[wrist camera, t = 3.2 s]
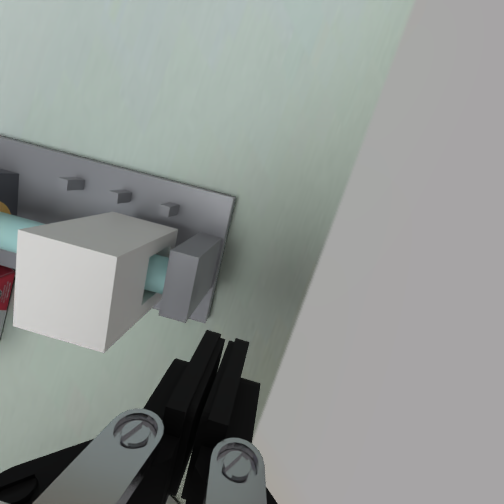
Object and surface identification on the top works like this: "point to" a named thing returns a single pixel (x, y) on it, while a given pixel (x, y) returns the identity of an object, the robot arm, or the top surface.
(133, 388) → the top surface
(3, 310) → the ink box
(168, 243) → the sleeve
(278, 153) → the top surface
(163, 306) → the motor shaft test rig
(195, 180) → the top surface
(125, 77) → the top surface
